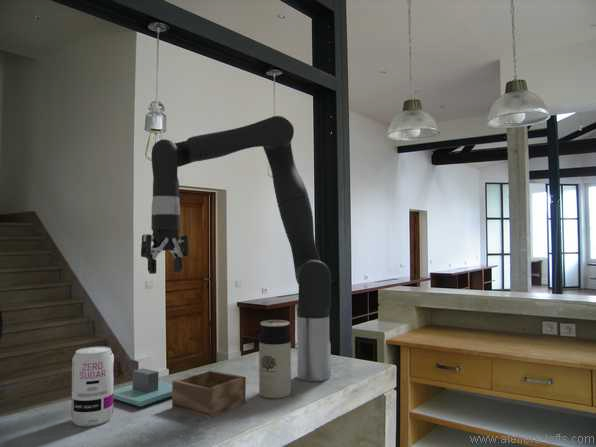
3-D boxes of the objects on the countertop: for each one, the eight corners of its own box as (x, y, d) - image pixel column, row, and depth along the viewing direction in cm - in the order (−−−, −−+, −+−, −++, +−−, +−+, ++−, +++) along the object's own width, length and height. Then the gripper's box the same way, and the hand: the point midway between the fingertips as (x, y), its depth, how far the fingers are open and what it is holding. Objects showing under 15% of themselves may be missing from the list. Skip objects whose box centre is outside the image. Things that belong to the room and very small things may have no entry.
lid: (149, 387, 125) (150, 362, 125) (183, 396, 118) (183, 369, 118) (105, 401, 114) (106, 373, 115) (139, 411, 107) (140, 381, 107)
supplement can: (100, 410, 107) (101, 344, 108) (120, 419, 102) (121, 349, 102) (64, 421, 101) (65, 350, 101) (82, 430, 95) (84, 356, 96)
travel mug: (274, 387, 124) (274, 318, 125) (297, 393, 119) (297, 321, 120) (252, 394, 118) (252, 322, 119) (276, 401, 113) (275, 325, 114)
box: (209, 393, 119) (209, 369, 119) (245, 402, 112) (245, 377, 112) (172, 407, 109) (172, 381, 109) (209, 417, 102) (209, 389, 102)
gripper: (176, 215, 137) (176, 271, 136) (135, 212, 125) (134, 273, 125) (194, 214, 133) (194, 271, 132) (153, 211, 121) (152, 274, 120)
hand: (165, 272), depth 128 cm, fingers open, 8 cm apart
